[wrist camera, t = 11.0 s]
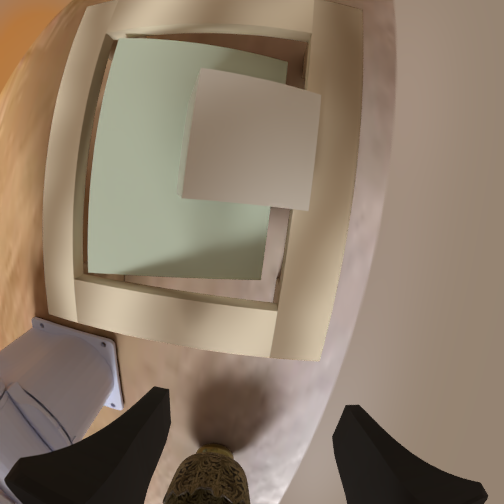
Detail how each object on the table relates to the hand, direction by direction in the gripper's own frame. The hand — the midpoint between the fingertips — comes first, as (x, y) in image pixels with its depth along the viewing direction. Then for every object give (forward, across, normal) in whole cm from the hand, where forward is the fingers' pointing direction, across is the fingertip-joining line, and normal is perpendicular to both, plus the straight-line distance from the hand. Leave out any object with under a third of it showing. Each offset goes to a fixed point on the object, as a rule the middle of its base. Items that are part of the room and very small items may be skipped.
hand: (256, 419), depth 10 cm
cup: (+11, +2, +16) cm, 19 cm away
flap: (+8, +6, -10) cm, 14 cm away
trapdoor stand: (+10, +4, -10) cm, 15 cm away
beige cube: (+5, +3, -10) cm, 12 cm away
